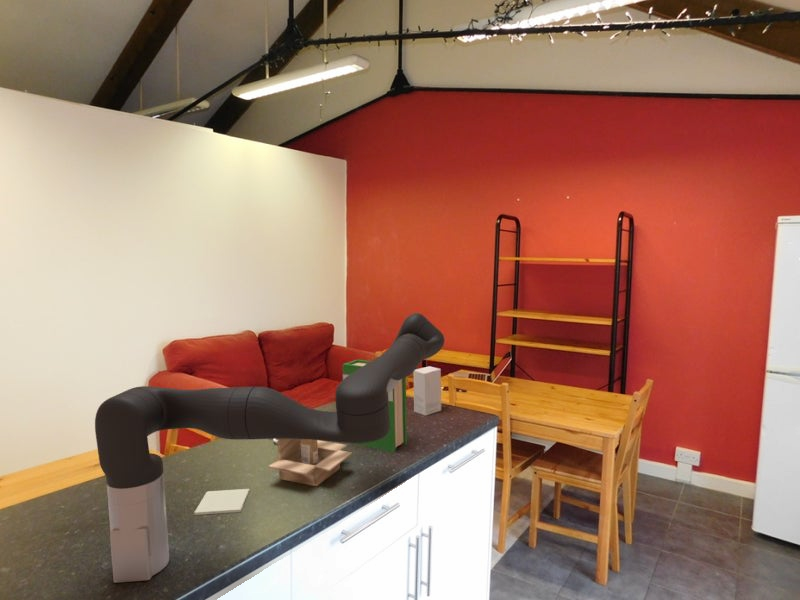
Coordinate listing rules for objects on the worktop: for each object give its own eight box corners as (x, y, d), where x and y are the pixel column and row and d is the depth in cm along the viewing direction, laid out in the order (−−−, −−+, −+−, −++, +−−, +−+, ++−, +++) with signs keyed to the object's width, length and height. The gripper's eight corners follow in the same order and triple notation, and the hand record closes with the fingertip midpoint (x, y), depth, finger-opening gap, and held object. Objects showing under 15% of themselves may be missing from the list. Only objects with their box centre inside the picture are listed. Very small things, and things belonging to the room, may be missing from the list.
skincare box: (430, 407, 186) (429, 365, 185) (442, 411, 181) (442, 368, 180) (413, 412, 181) (412, 369, 180) (425, 416, 176) (424, 372, 174)
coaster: (240, 512, 113) (240, 509, 113) (194, 515, 112) (194, 512, 112) (249, 491, 123) (249, 488, 123) (207, 493, 122) (207, 491, 122)
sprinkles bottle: (322, 474, 131) (320, 424, 130) (305, 478, 129) (303, 427, 128) (314, 468, 135) (313, 419, 134) (298, 472, 133) (296, 422, 131)
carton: (360, 464, 137) (359, 421, 136) (320, 496, 119) (319, 447, 118) (313, 456, 143) (311, 415, 142) (269, 485, 126) (267, 438, 124)
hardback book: (407, 443, 151) (405, 365, 149) (393, 452, 145) (392, 370, 142) (359, 433, 160) (357, 359, 158) (344, 441, 154) (342, 364, 152)
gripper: (375, 401, 114) (334, 443, 120) (401, 385, 127) (363, 424, 133) (354, 376, 116) (314, 419, 122) (382, 363, 129) (345, 403, 135)
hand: (340, 422), depth 127 cm, fingers open, 8 cm apart
